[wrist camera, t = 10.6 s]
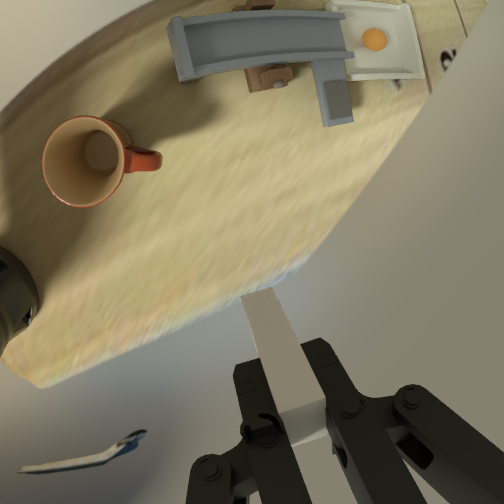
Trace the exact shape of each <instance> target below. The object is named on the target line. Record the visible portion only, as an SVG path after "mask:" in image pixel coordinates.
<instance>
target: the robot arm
mask: <svg viewBox="0 0 504 504" xmlns="http://www.w3.org/2000/svg"><path fill="white" fill-rule="evenodd" d="M241 299H242V303H243V306H244V309H245V313H246V316H247V319H248V323H249V326H250V329H251V333H252V336H253V340H254V343H255V346H256V349H257V352H258V355H259V358H257V359H254V360H251V361H247V362H244V363H241V364H237V365H236V366H235V369H234V373H233V379H234V384H235V387H236V393H237V396H238V401H239V406H240V410H241V414H242V419H243V422H242V424H241V426H240V433H241V435H242V437H243V438H242V440H241V441H240V443H239V444H238V445H237V446H236V447H234V448H233V449H231V450H229V451H227V452H226V453H224V454H222V455H216V454H209V455H204V456H202V457H200V458H198V459H197V460H196V461H195V462H194V463H193V465H192V468H191V470H190V477H189V484H188V491H187V497H186V504H249V498H250V495H251V494H253V493H254V492H256V491H259V495H260V498H261V502H262V504H312V502H311V499H310V496H309V494H308V491H307V488H306V485H305V483H304V480H303V477H302V474H301V472H300V469H299V466H298V463H297V460H296V458H295V455H294V452H293V449H292V447H293V446H296V445H299V444H303V443H305V442H308V441H311V440H314V439H317V438H320V437H323V436H325V435H327V434H328V432H329V434H330V437H331V439H332V452H333V454H336V456H337V458H338V460H339V462H340V465H341V467H342V469H343V471H344V474H345V476H346V478H347V481H348V483H349V485H350V487H351V490H352V492H353V494H354V496H355V498H356V501H357V502H358V504H427V502H426V501H425V499H424V497H423V495H422V493H421V492H420V490H419V488H418V486H417V484H416V482H415V481H414V479H413V477H412V475H411V474H410V472H409V470H408V468H407V466H406V465H405V463H404V461H403V459H404V460H405V461H406V462H407V463H408V464H409V465H410V466H411V467H412V468H413V469H414V470H415V471H416V472H417V473H418V474H419V475H420V476H421V477H422V478H423V479H424V480H425V481H426V482H427V483H428V484H430V486H432V487H433V488H434V489H435V490H436V491H437V492H438V493H439V494H440V495H441V496H442V497H443V498H444V499H445V500H446V501H447V502H449V503H450V504H504V452H503V451H501V450H500V449H499V448H498V447H496V446H495V445H494V444H493V443H492V442H490V441H489V440H488V439H487V438H486V437H484V436H483V435H482V434H481V433H479V432H478V431H477V430H475V429H474V428H473V427H472V426H471V425H470V424H468V423H467V422H466V421H465V420H463V419H462V418H461V417H460V416H459V415H457V414H456V413H455V412H454V411H452V410H451V409H450V408H449V407H447V406H446V405H445V404H444V403H443V402H441V401H440V400H439V399H438V398H437V397H435V396H434V395H433V394H432V393H430V392H429V391H428V390H427V389H425V388H424V387H422V386H420V385H415V384H411V385H406V386H404V387H402V388H400V389H399V390H398V391H397V392H396V394H395V395H393V396H388V397H381V398H371V397H367V396H364V395H362V394H361V393H360V392H358V390H357V389H356V388H355V386H354V384H353V383H352V381H351V380H350V378H349V376H348V374H347V373H346V371H345V369H344V368H343V366H342V364H341V363H340V361H339V359H338V357H337V356H336V355H335V352H334V350H333V349H332V347H331V345H330V344H329V343H328V342H326V341H324V340H323V339H322V338H317V339H314V340H311V341H308V342H305V343H302V344H299V342H298V340H297V337H296V335H295V333H294V331H293V329H292V327H291V325H290V323H289V321H288V319H287V317H286V315H285V313H284V311H283V309H282V307H281V305H280V303H279V300H278V298H277V296H276V294H275V292H274V290H273V288H272V287H270V288H267V289H263V290H260V291H257V292H253V293H250V294H247V295H243V296H241ZM37 309H38V294H37V290H36V287H35V284H34V282H33V279H32V277H31V275H30V274H29V272H28V271H27V269H26V268H25V266H24V265H23V264H22V263H21V262H20V261H19V259H17V258H16V257H15V256H14V255H13V254H12V253H10V252H9V251H7V250H5V249H3V248H1V247H0V357H1V355H2V353H3V351H4V349H5V347H6V345H7V343H8V342H9V341H10V340H12V339H13V338H14V337H16V336H17V335H18V334H20V333H21V332H23V331H24V330H25V329H26V328H28V326H29V325H30V324H31V322H32V320H33V319H34V317H35V315H36V313H37ZM401 457H402V458H403V459H402V458H401Z"/></svg>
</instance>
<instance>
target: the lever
mask: <svg viewBox="0 0 504 504" xmlns="http://www.w3.org/2000/svg"><path fill="white" fill-rule="evenodd" d="M343 19H346V18H345V14H344V13H341V12H329V11H314V10H254V11H238V12H227V13H217V14H209V15H201V16H195V17H188V18H182V19H181V16H179V17H173V18H172V19H171V21H170V22H169V24H168V26H167V32H168V37H169V41H170V45H171V49H172V54H173V58H174V62H175V66H176V70H177V74H178V78H179V82H181V81H185V80H189V79H194V78H198V77H203V76H207V75H212V74H217V73H222V72H228V71H234V70H239V69H246V68H252V67H259V66H267V65H275V64H285V63H295V62H308V61H310V62H311V66H312V71H313V75H314V80H315V85H316V90H317V95H318V100H319V105H320V111H321V116H322V122H323V127H330V126H335V125H340V124H345V123H351V122H354V120H353V114H352V107H351V101H350V96H349V90H348V85H347V79H346V74H345V69H344V65H343V60H345V59H351V58H355V55H354V52H353V51H347V50H346V46H345V42H344V37H343V33H342V29H341V25H340V20H343Z"/></svg>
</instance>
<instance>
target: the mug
mask: <svg viewBox="0 0 504 504" xmlns="http://www.w3.org/2000/svg"><path fill="white" fill-rule="evenodd" d="M162 161H163V156H162V154H161V153H160V152H158V151H154V150H148V149H144V148H141V147H138V146H134V145H133V140H132V138H131V136H130V134H129V133H128V131H127V130H126V129H125V128H124V127H123V126H121V125H120V124H118V123H116V122H114V121H110V120H102V119H100V118H97V117H94V116H77V117H73V118H71V119H68V120H67V121H65V122H63V123H62V124H60V125H59V126H58V127H57V128H56V129H55V130H54V131H53V132H52V134H51V135H50V137H49V138H48V140H47V142H46V145H45V147H44V151H43V156H42V171H43V176H44V179H45V182H46V184H47V186H48V188H49V189H50V191H51V192H52V193H53V194H54V196H55V197H57V198H58V199H59V200H60V201H62V202H63V203H65V204H67V205H70V206H73V207H80V208H85V207H91V206H95V205H97V204H100V203H101V202H103V201H105V200H106V199H107V198H109V197H110V196H111V195H112V194H113V193H114V191H115V190H116V189H117V188H118V186H119V185H120V183H121V181H122V178H123V175H124V174H127V173H133V172H137V171H156V170H159V169H160V168H161V166H162Z"/></svg>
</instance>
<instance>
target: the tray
mask: <svg viewBox="0 0 504 504" xmlns="http://www.w3.org/2000/svg"><path fill="white" fill-rule="evenodd" d="M323 8H324V11H329V12H341V13H344V14H345V18H346V19H343V20H340V25H341V29H342V33H343V37H344V42H345V46H346V50H347V51H353V52H354V55H355V58H351V59H345V60H343V65H344V69H345V74H346V79H347V82H348V81H362V80H383V79H425V73H424V67H423V62H422V56H421V51H420V47H419V42H418V38H417V33H416V29H415V25H414V21H413V17H412V14H411V10H410V6H409V4H407V3H403V4H400V5H394V4H387V3H378V2H369V1H358V0H330V1H329V2H327V3H326V4H324V5H323ZM370 28H375V29H379V30H380V31H382V32H383V33H384V34H385V36H386V38H387V45H386V47H385V48H384V49H382V50H380V51H372V50H370V49H368V48H367V47H366V46H365V45H364V43H363V41H362V35H363V33H364V32H365V31H366V30H367V29H370Z"/></svg>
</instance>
